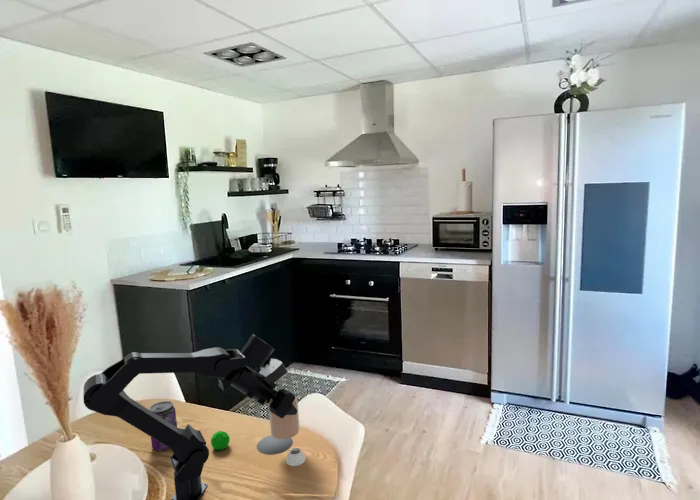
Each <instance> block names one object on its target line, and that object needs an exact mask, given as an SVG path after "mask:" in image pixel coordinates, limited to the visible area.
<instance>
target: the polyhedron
mask: <svg viewBox="0 0 700 500" xmlns="http://www.w3.org/2000/svg"><path fill="white" fill-rule="evenodd" d="M230 440H231V439H230V436H229V434H228V433H227V432H225V431H221V430H219V431H217V432H215V433H213V435H212V436H211V439H210V445H211V447H212V448H213V450H217V451H222V450H224V449H225V448H227V447H228V446H229V444H230Z"/></svg>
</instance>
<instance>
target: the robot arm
mask: <svg viewBox="0 0 700 500" xmlns="http://www.w3.org/2000/svg"><path fill="white" fill-rule="evenodd" d="M274 351H275V348H274V347H273V346H272V345H270V344H268V343H267V342H266V341H265V340H264V339H262V338H259V337H258V336H257V335H255V334H253V333H252V334H251V336H250V337H249V339H248V341H247V342H246V343H245V345H244V346H243V347H242V349H241V350H239V349H238V348H233V349H232V348H231V349H224V348H222V347H218V346H217V347H216V346H215V347H211V348H205V349H201V350H198V351H195V352H153V353H152V352H138V351H133V352H130V353H128V354H126V355H125V357H123V358H122V359H121V360H119V361H117V362H115V363H114V364H112V365H110V366H109V367H107V368H106V369H105V370H103V371H102V372H101V373H98V374H94V375H92V376H90V377H89V378H87V380H86V381H85V382H84V385H83V394H82V395H83V405H84V406H85V408H87V409H88V410H90V411H92V412H95V413H98V414H101V415H104V416H110V417H117V418H119V419H121V420H122V421H123V422H126V423H127V424H129V425H130V426H133V427H134V428H136V429H137V430H139V431H141V432H142V433H144V434H146V435H147V436H149V437H150V438H151V437H152V438H154V439H155V440H157V441H159V442H160V443H162V444H164V445H165V446H167V447H169V450H170V451H171V452H172V453H173V454H172V455H171V456H170V457H169V460H170V462H171V466H172V468H173V476H174V477H173V482H174V492H175V493H174V494H173V496H172V497H171V499H170V500H200V498H201V497H202V496H203V494H204V493H205V491H206V489H207V488H208V483H207V482H206V483H204V482H202V476H201V475H202V472H203V469H204V465H205V464H206V462H207V461H208V460H209V456H210V450H209V448H208V446H207V442H206V440H205V438H204V437H205V436H203V433H202V431H201V430H197V429H195V428H194V427H193V426H191V424H187V425H186V426H185V428H181V427H178V426H177V427H175V426H174V425H172V424H171V423H169V422H167V421H166V420H164V419H163V418H161V417H159V416H158V415H156V414H155V413H153V412H152V411H150V409H149V408H147V407H146V406H144V405H142V404H141V403H139V402H138V401H135V400H134V399H133V398H132V397H130V396H129V395H128V394H127V392H126V391H125V388H126V387H128V385H129V384H130V383H131V382H132V381H133V380H134V379H135V378H136V377H137V376H139V375H143V374H144V375H145V374H177V373H178V374H179V373H185V374H186V373H194V374H198V375H202V376H205V377H210V378H211V377H212V378H216V379H218V387H219V388H220V389H221V390H222V391H223V392H227V390H228V389H229V388H230V386H231V387H233V388H234V389H236V390H237V391H240V392H241V393H242V394H243V395H244V396H246V397H248V398H249V399H251V400H253V401H255V402H257V403H258V404H260V405H262V406H264V405H265V404H268V411H269V410H270V411H271V412H272V413H274V414H275V415H277V416H278V417H280V418H284V417H285V415H296V414H297V412H298V413H299V409H298V410H297V409H296V408H295V406H294V405H293V404H292V403H293V402H294V400H295V396H296V394H294V393H293V392H291V391H289V390H287V389H285V388H281V389H278V391H277V390H275V389H276V388H277V386H278V384H277V383H276V382H278V380H280V379H281V378H282V377H283V376H285V375H286V374H287V373H288V370H287V368H286V366H285V365H284V363H283V361H281V360H279V359H277V358H272V357H271V358H270V359H269V357H270V356H271V355H272V353H273V352H274ZM247 365H249V366H250V367H252V368H253V369H260V371H259V372H258V371H256V370H253V369H252V368H250V367H249V366H247ZM270 399H272V400H273V401H272V402H271V404H270V405H269V400H270Z"/></svg>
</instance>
